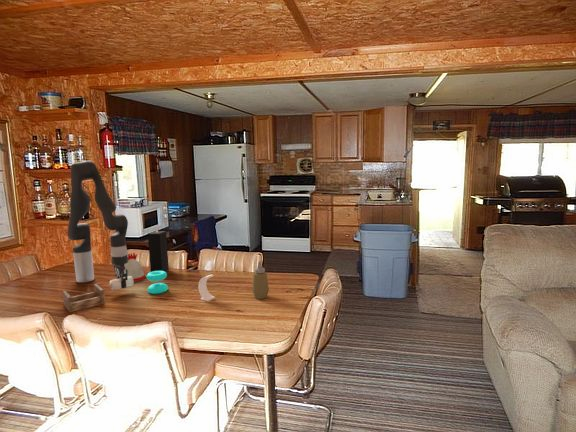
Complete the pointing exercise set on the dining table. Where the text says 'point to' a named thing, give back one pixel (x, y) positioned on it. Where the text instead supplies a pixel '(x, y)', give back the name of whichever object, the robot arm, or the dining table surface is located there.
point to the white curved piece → (205, 289)
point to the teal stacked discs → (157, 287)
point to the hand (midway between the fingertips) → (122, 286)
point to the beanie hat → (134, 268)
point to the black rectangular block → (158, 250)
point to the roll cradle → (84, 299)
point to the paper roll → (117, 283)
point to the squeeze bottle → (260, 282)
